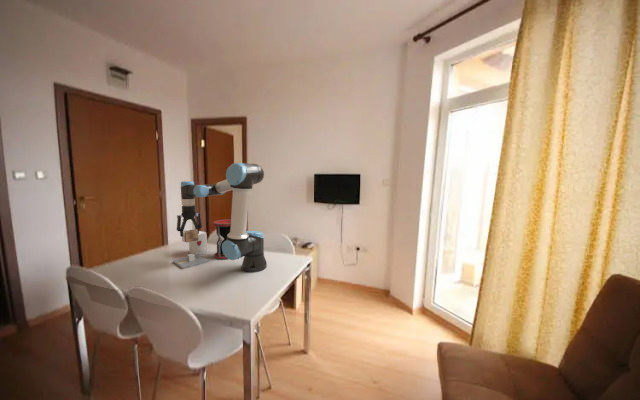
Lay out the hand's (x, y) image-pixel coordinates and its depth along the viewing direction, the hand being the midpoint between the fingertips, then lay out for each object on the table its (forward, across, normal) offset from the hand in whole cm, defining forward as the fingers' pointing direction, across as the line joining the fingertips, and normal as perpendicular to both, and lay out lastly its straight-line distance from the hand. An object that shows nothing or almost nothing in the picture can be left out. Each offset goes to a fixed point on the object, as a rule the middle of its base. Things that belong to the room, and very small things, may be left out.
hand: (190, 240), depth 158 cm
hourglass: (+15, -22, +5) cm, 27 cm away
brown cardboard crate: (0, 0, 0) cm, 0 cm away
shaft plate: (+15, 0, 0) cm, 15 cm away
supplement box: (+15, -12, -16) cm, 25 cm away
